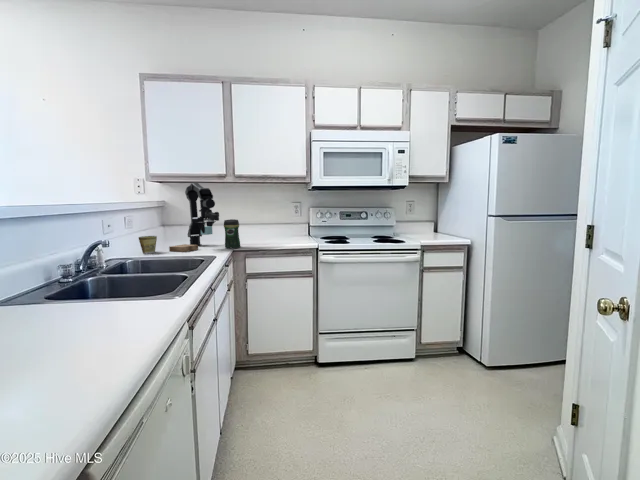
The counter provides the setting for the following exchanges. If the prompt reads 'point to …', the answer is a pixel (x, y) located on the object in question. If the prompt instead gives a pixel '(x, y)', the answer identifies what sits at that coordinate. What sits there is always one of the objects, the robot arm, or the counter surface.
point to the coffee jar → (231, 233)
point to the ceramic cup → (148, 244)
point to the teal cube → (207, 230)
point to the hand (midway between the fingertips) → (206, 232)
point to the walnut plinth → (183, 248)
